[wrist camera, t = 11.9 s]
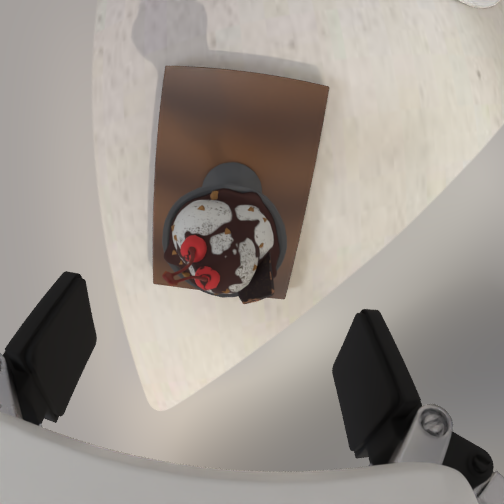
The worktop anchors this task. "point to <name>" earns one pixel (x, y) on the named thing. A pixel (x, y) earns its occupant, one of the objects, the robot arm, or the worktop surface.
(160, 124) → the serving board
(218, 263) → the sundae
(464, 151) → the worktop surface
